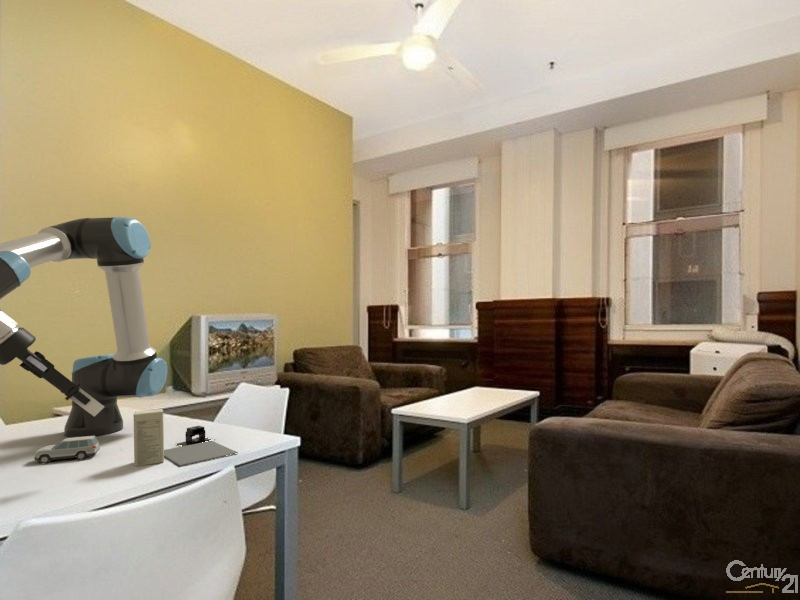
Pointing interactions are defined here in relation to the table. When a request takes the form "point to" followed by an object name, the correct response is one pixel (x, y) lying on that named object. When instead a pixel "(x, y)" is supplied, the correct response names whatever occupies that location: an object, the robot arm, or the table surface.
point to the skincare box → (148, 437)
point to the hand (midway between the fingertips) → (98, 411)
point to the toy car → (69, 449)
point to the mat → (196, 453)
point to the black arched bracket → (192, 432)
